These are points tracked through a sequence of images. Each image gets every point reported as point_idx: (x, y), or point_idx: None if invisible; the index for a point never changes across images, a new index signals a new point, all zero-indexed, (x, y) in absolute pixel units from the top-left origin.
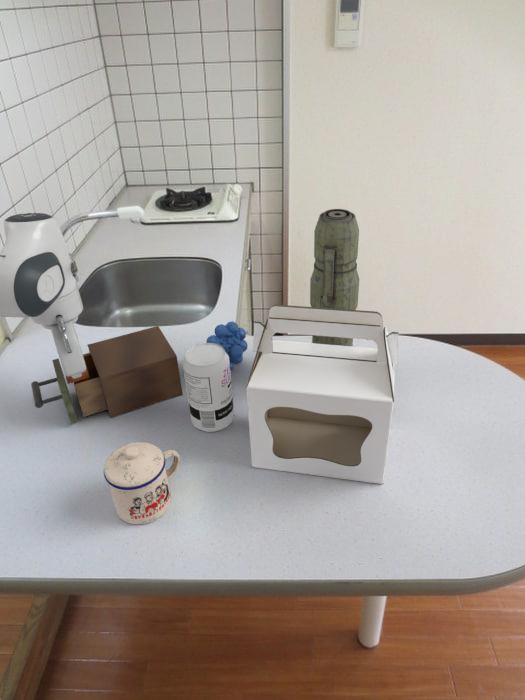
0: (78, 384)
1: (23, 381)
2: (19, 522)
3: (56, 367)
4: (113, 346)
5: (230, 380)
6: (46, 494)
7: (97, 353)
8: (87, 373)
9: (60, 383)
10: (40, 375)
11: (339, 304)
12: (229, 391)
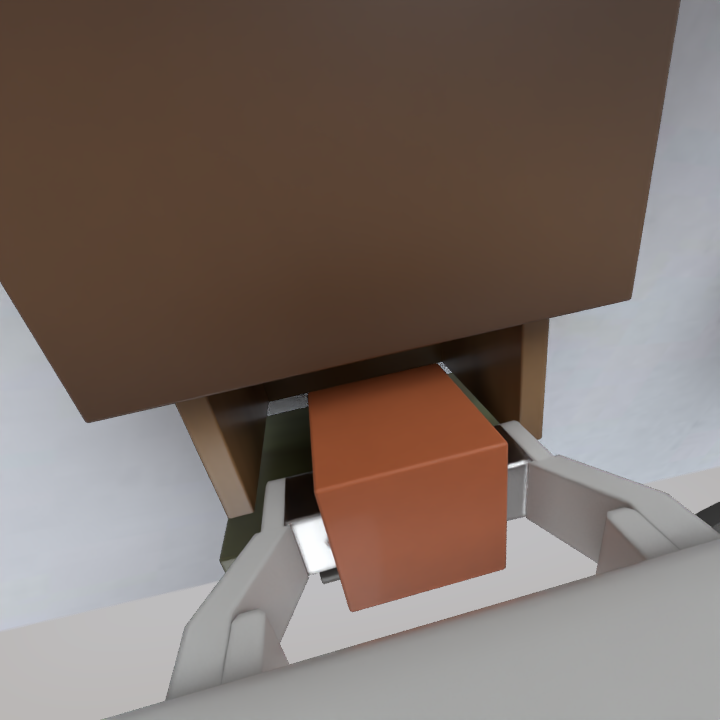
0: (534, 421)
1: (145, 556)
2: (697, 452)
3: None
4: (157, 152)
5: None
6: (662, 414)
7: (269, 329)
8: (453, 382)
9: None
10: (110, 517)
11: None
12: None
